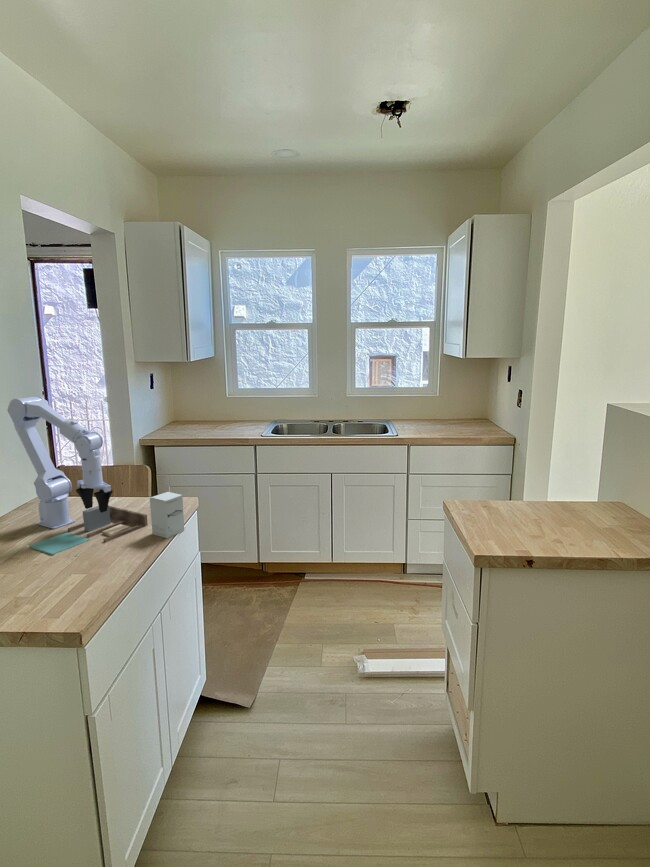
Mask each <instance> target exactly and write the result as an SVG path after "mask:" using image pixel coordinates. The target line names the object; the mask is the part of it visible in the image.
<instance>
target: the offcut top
mask: <svg viewBox="0 0 650 867" xmlns="http://www.w3.org/2000/svg"><path fill="white" fill-rule="evenodd" d="M130 528H131V526H129V525H126V524H123V525H122V524H120V525H117V526H115V527H112V528H109V529H107V530H104V531H102V533H101V534H102V535H103V536H108V537H110V536H112V535H115V534H117V533H120V532H122V531H125V530H127V529H130Z"/></svg>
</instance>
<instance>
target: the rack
mask: <svg viewBox="0 0 650 867" xmlns="http://www.w3.org/2000/svg"><path fill="white" fill-rule="evenodd" d="M109 512H110V519H111V518H112V519H116V520H119V521H118V522H115V523H113V524H109V525H106V526H104V527H101V528H99V529H96V530H93V531H91V532H88V533H87V534H86V538H88V539H90V538H93V537H94V536H97V535H99V534H102V531H104V530H107V529H109V528H112V527H115V526H117V525H120V524H122V525H126V524H127V523H131V524H134V525H135V526H132V527H130V529H127V530H125V531H122V532H120V533H117V534H115V535H112V536H108V537H105V538H103V539H102V540H103V543H109V542H111V541H113V540H115V539H118V538H121V537H122V536H125V535H128V534H130V533H132V532H135V531H138V530H140V529H142V528H143V527H147V526H148V524H149V523H148V514H145V513H141V512H136V511H132V510H128V509H125V508H120V507H115V506H111V505H109ZM82 528H84V522H82V523H80V524H77V525H74V526H72V527H69V528H67V532H68V533H71V532H73V531H76V530H78V529H79V530H80V529H82Z"/></svg>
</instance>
